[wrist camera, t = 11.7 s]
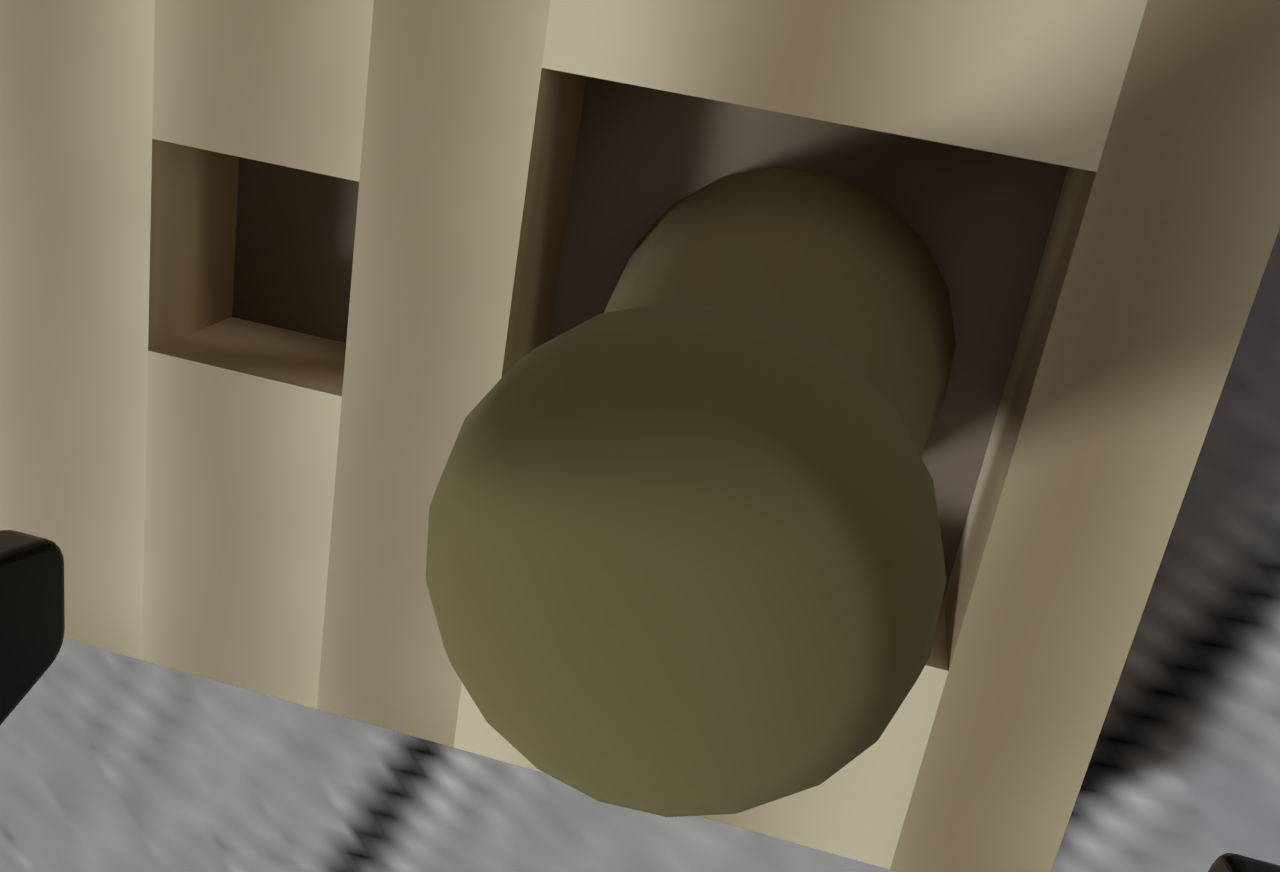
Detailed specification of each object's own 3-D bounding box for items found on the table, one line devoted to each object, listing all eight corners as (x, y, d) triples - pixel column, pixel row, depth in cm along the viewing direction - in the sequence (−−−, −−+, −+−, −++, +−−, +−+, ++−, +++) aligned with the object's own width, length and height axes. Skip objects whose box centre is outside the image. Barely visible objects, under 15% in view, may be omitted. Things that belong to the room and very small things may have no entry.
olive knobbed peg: (998, 453, 20) (1088, 867, 10) (676, 539, 22) (476, 962, 12) (895, 114, 19) (879, 196, 9) (560, 235, 21) (225, 419, 11)
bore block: (1322, -90, 17) (1403, -117, 14) (1021, 804, 23) (1036, 910, 20) (95, -277, 20) (-36, -329, 17) (93, 556, 26) (-7, 618, 23)
